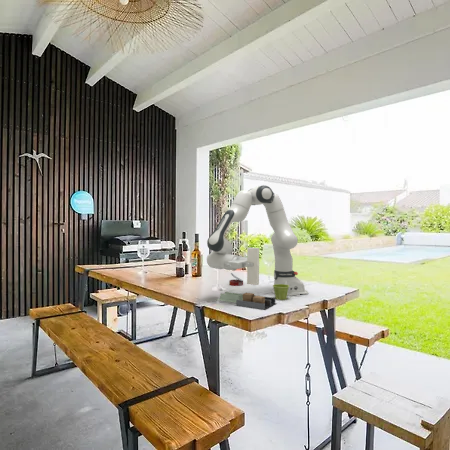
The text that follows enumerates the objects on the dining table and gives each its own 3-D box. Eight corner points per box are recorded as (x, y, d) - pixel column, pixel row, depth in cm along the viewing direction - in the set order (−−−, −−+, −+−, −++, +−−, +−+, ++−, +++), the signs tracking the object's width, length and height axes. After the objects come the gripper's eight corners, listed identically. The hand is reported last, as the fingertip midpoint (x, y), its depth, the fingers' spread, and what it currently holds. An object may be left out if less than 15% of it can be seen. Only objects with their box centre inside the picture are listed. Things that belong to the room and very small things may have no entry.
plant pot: (280, 303, 197) (281, 287, 196) (269, 300, 204) (269, 285, 204) (292, 301, 202) (292, 286, 202) (280, 297, 210) (281, 283, 210)
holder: (226, 297, 210) (226, 290, 210) (247, 300, 203) (247, 293, 203) (216, 301, 200) (216, 294, 200) (237, 305, 193) (237, 297, 192)
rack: (247, 301, 201) (247, 294, 201) (277, 305, 192) (277, 298, 191) (234, 307, 187) (234, 299, 187) (265, 312, 178) (265, 304, 178)
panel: (249, 283, 197) (249, 247, 196) (258, 284, 194) (259, 248, 193) (247, 284, 195) (247, 247, 194) (256, 285, 192) (257, 248, 191)
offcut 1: (246, 303, 191) (246, 292, 191) (254, 304, 189) (254, 293, 188) (242, 305, 188) (242, 293, 188) (251, 306, 185) (251, 295, 185)
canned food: (233, 289, 255) (237, 276, 259) (244, 290, 249) (247, 276, 253) (224, 284, 248) (227, 271, 252) (235, 284, 241) (238, 271, 245)
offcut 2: (256, 305, 188) (256, 295, 188) (264, 306, 186) (264, 296, 185) (252, 306, 185) (252, 297, 184) (261, 307, 182) (261, 298, 182)
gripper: (223, 258, 191) (246, 260, 184) (240, 255, 209) (262, 256, 202) (223, 270, 191) (246, 272, 185) (240, 266, 209) (262, 267, 202)
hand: (254, 264), depth 193 cm, fingers closed on panel, 2 cm apart
